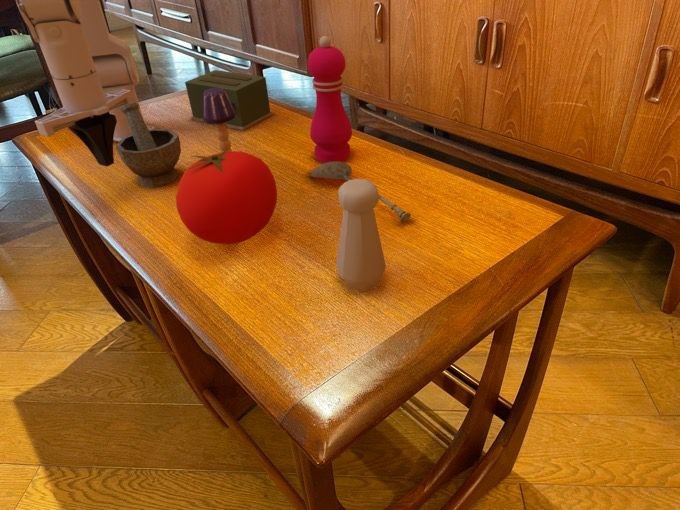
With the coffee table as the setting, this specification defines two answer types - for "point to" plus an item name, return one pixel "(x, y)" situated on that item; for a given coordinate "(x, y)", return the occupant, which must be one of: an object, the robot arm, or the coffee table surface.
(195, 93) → the toaster
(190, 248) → the coffee table surface
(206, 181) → the tomato
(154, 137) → the mortar and pestle
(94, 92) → the robot arm
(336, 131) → the pepper mill
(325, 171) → the soupspoon
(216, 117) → the toy lamp
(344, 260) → the salt shaker
